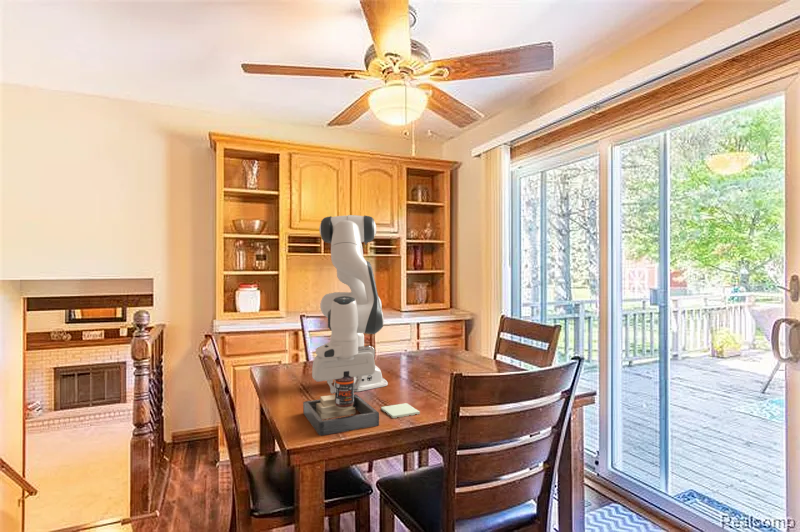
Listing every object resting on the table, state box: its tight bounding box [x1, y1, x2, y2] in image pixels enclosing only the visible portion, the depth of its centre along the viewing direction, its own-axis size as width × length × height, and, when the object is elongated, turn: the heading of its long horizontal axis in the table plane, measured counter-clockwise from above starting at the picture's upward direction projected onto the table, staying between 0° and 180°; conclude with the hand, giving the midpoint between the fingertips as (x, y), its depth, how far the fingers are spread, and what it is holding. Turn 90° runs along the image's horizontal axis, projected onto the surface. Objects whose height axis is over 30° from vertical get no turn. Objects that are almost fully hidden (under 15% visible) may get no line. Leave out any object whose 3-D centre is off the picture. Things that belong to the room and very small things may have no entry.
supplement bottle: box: [334, 371, 355, 408], centre depth 136 cm, size 6×6×11 cm
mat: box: [380, 402, 421, 419], centre depth 147 cm, size 10×10×1 cm
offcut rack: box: [302, 394, 380, 437], centre depth 140 cm, size 19×21×4 cm
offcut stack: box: [316, 394, 356, 420], centre depth 145 cm, size 12×6×6 cm, turn 116°
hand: (344, 391), depth 136 cm, fingers closed on supplement bottle, 6 cm apart
